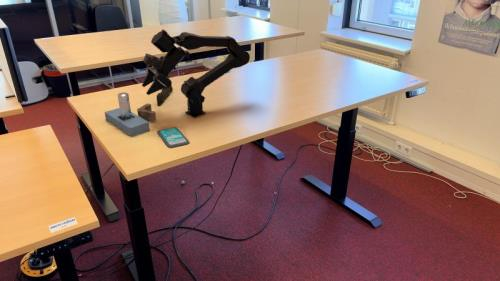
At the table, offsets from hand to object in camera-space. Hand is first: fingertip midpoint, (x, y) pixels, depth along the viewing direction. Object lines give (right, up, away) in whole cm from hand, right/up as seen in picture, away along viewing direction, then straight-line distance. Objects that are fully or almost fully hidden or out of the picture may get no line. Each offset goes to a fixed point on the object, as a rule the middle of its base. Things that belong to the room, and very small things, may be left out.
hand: (144, 90), depth 148 cm
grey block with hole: (-8, -14, +3) cm, 16 cm away
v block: (-2, -10, +9) cm, 14 cm away
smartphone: (+12, -19, -5) cm, 23 cm away
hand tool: (+1, -1, +29) cm, 29 cm away
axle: (-8, -14, +3) cm, 16 cm away
